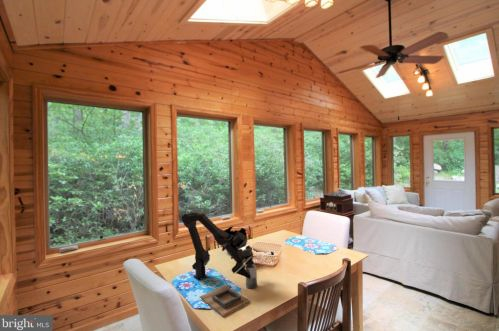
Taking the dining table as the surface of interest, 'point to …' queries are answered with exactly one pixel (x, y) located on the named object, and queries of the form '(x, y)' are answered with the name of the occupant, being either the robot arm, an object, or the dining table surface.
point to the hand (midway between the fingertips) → (253, 274)
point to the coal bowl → (234, 234)
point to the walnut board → (224, 300)
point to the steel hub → (252, 272)
